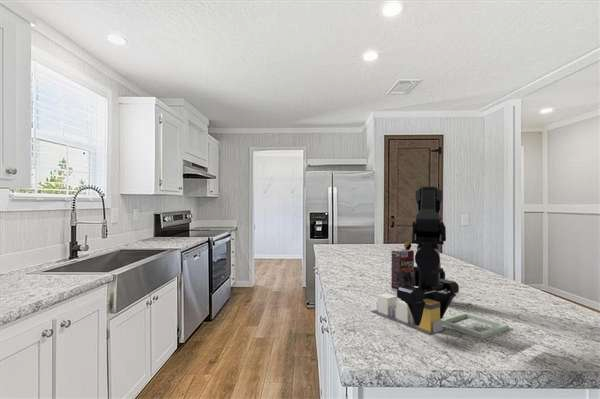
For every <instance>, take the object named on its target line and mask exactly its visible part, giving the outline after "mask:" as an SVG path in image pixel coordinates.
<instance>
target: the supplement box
mask: <svg viewBox="0 0 600 399" xmlns="http://www.w3.org/2000/svg"><path fill="white" fill-rule="evenodd" d="M414 264H415V250H414V249H410V250H407V249H405V248H404V249H398V250H397V249H395V250H391V284H390V285H391V286H390V287H391V289H390V290H392V291H394V292H397V289H398V288H399V287H403V286H402V284H401V283H398V282H397V278H396V276H397V272H399V271H405V272H406V273H411V272H413V268H414V267H415V265H414ZM405 286H412V284H411V285H409V284H407V285H405ZM412 287H415V286H412Z"/></svg>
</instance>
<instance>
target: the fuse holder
mask: <svg viewBox="0 0 600 399" xmlns="http://www.w3.org/2000/svg"><path fill="white" fill-rule="evenodd" d="M389 309H390V315H386V314H383V313H380V312H378V301H377V302H376V309H374V310H370V313H372V314H375V315H378V316H380V317H383V318H385V319H388V320H389V321H393V322H396V323H397V324H400V325H403V326H406V327H408V328H411V329H413V330H415V331H418V332H421V333H423V334H425V335H428V336H433V335H436V334H439V333H442V332H445V331H449V330H450V328H449V327H446V326H443V321H442V320H438V321H434V322H433V331H431V332H430V331H427V330H425V329H422V328H420V327H418V326H417V325H415V322H414V319H413V317H412V314H410V322H409V323H407V322H404V321H401V320H399V319H397V309H396V305H395V306H391V307H389Z"/></svg>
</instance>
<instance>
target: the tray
mask: <svg viewBox="0 0 600 399" xmlns="http://www.w3.org/2000/svg"><path fill="white" fill-rule="evenodd" d="M466 318H467V319H470V320H472V321H473V320H474V321H477V322H479V323H483V324H486V325H490V326H493V327H490V328H488V329H485V330H482V331H478V330H474V329H472V328H468V327H466V326H464V325H463V326H462V325H460V324H457V323H455V321H459V320H462V319H466ZM440 320H442V321H443V327H446V328H449V329H452V330H456V331H458V332H461V333H464V334H467V335H470V336H473V337H475V338H477V339H481V340H483V339H486V338H488V337H491V336H493V335H496V334H499V333H502V332H503V331H504V332H505V331H506V330H509V328H510V327H509V324H507V323H504V322H500V321H497V320H493V319H490V318H486V317H483V316H479V315H476V314H473V313H470V312H466V311H463V312H460V313H456V314H453V315H450V316H447V317H443V318H442V319H440Z"/></svg>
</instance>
